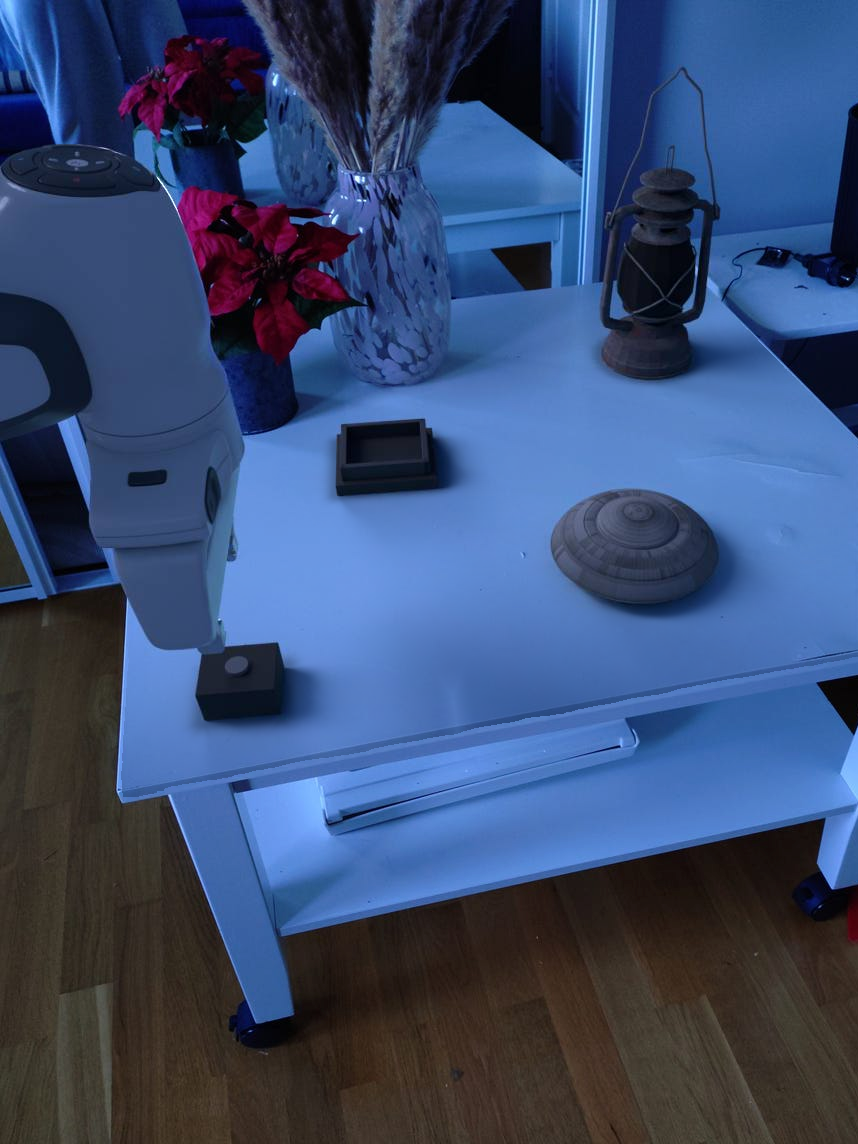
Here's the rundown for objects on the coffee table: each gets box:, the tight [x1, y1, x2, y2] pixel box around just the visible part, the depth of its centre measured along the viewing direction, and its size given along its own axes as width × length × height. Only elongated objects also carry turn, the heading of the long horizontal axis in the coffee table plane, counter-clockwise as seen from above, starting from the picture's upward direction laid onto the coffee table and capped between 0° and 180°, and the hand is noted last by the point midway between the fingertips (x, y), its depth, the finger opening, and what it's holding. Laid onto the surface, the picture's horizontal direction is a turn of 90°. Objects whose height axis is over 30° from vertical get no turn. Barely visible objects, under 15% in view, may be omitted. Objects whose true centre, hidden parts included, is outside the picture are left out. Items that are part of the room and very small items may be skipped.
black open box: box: [335, 418, 439, 496], centre depth 94 cm, size 10×9×3 cm
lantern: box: [599, 66, 721, 380], centre depth 98 cm, size 12×11×30 cm
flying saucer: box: [550, 488, 720, 605], centre depth 83 cm, size 15×15×6 cm
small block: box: [194, 641, 285, 721], centre depth 73 cm, size 6×5×3 cm
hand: (220, 599), depth 67 cm, fingers open, 8 cm apart
